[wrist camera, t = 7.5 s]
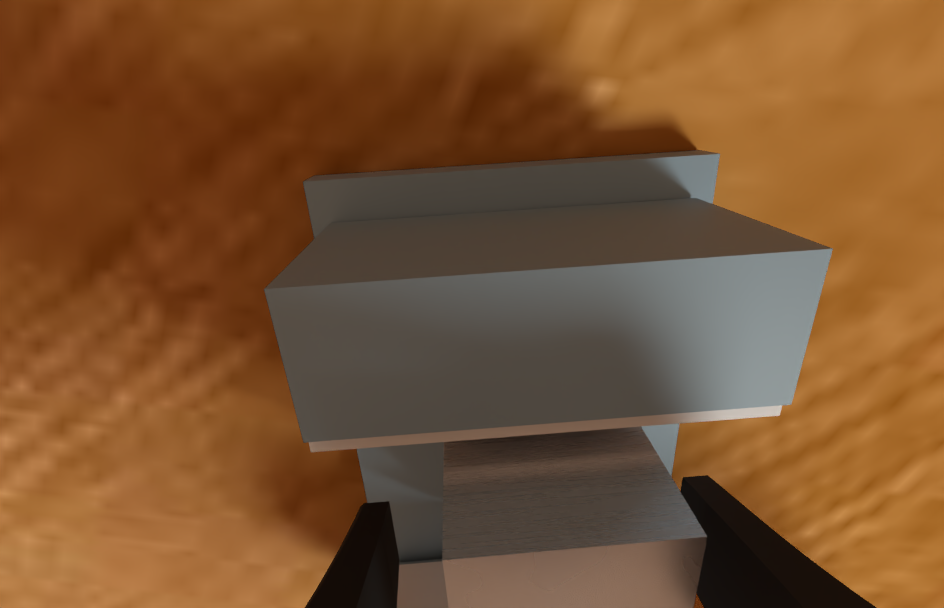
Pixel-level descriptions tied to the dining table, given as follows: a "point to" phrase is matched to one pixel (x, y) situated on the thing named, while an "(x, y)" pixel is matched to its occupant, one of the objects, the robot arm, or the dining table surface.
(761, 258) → the base
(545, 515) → the steel block
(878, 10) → the dining table surface
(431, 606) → the block
